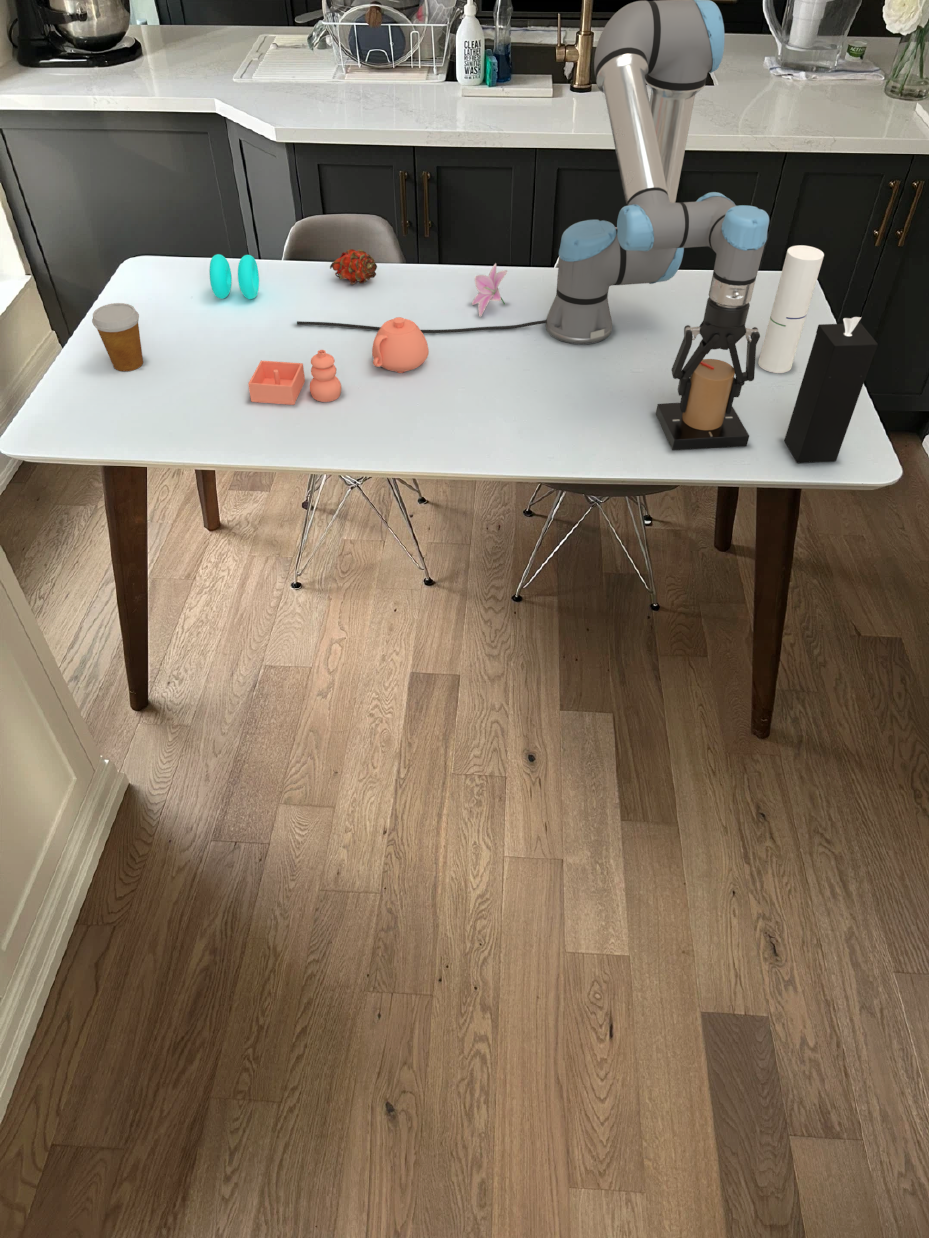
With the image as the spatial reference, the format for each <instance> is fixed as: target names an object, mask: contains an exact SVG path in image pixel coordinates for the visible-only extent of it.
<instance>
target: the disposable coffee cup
mask: <svg viewBox="0 0 929 1238" xmlns="http://www.w3.org/2000/svg"><path fill="white" fill-rule="evenodd" d="M139 319H140V314H139V312H138V311H137V310H136V308H135V307H134V306H133V305H132V304H129V303H125V302H124V303H123V302H113V303H107V304H104V305H102V306H99V307H98V308H96V309H95V310H94V311H93V313H92V319H91V323H92V325H93V326H94V327H95V328H96V330H97V332H98V335H99V337H100V339H101V342H102V344H103V346H104V348H105V351H106V352H107V355H108V357H109V359H110V362H111V364H112V366H113V369H114V370H117V371H119V372H131V371H135V370H138V369H139V368H141V367H142V366H143V364H144V358H143V351H142V350H143V349H142V342H141V334H140V326H139Z"/></svg>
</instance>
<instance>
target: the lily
mask: <svg viewBox="0 0 929 1238" xmlns="http://www.w3.org/2000/svg"><path fill="white" fill-rule="evenodd" d="M507 274H508V270H507V269H504V270H501V271H498V272H497V263H496V262H495V263H494V264H493V266H492V268H491V269H490V271H489V273H488V275H485V274H476V275H475V276H474V284H475V288H476V290H477V291H478V293H477V294H476V295H475V297H474V299H473V300H472V302H471V305H472V306H473V305H476V304H477V305H478V307H477V308H478V317H479V318H481V317H482V316H483V314H484V312H485V310H486V308H487V306H488V304H489V302H490V301H492V302H502V303H503V305H506V303H505V301H504V299H503V298H502V296H501V293H500V289H499V285H500V284H501V283H502V281H503V279H504V278H505V276H506V275H507Z"/></svg>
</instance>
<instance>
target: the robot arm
mask: <svg viewBox="0 0 929 1238" xmlns="http://www.w3.org/2000/svg"><path fill="white" fill-rule="evenodd" d="M725 37H726V36H725V24H724V19H723V15H722V12H721V10H720V8H719V6H718V5H717V4H716V3H715V2H714V1H712V0H636V1H633V2H630V3H628V4H626V5H624V6H623V7H621V8H620V9H618V11H616V12H615V13H614V14H613V15H612V16H611V18H610V19H609V20H608V21H607V23H606V24H605V25H604V28H603V29H602V31H601V33H600V35H599V38H598V40H597V44H596V48H595V53H594V61H593V62H594V63H593V69H594V77H595V82H596V87H597V89H598V90H599V91H600V92H601V93H602V94H604V98H605V103H606V108H607V114H608V119H609V124H610V129H611V134H612V140H613V145H614V150H615V155H616V159H617V165H618V169H619V175H620V180H621V187H622V189H623V196H624V201H625V205H624V206H623V207H622V208H621V209H620V210H619V212H618V216H617V221H616V226H615V225H614V224H613V223H612V222H610V221H607V220H605V219H603V220H599V219H586V220H582V221H578V222H575V223H573V224H572V225H569V226H568V227H567V228H566V229H565V230H564V231H563V233H562V234H561V240H560V246H559V249H558V267H557V280H556V281H557V282H556V293H555V296H554V299H553V301H552V303H551V306H550V309H549V311H548V313H547V316H546V318H545V319H543V320H537V321H529V322H525V323H520V324H512V325H511V324H510V325H499V326H497V325H495V326H478V327H477V326H476V327H465V328H451V329H450V328H448V329H420V330H421V332H422V333H423V334H447V333H448V334H450V333H467V332H476V331H477V332H478V331H494V330H512V329H520V328H524V327H530V326H531V327H532V326H537V325H544V324H545V330H546V332H547V334H549V335H550V337H552V338H554V339H556V340H558V341H560V342H563V343H566V344H567V343H568V344H574V345H590V344H595V343H600V342H602V341H604V340H606V339H607V338H608V337H610V335H611V334H612V327H613V319H612V314H611V310H610V304H609V299H608V297H609V290H610V287H612V286H626V285H629V286H630V285H642V284H648V285H653V284H656V283H662V282H667V281H669V280H671V279H673V277H675V276H676V274H677V272H678V271H679V269H680V267H681V264H682V261H683V257H684V252H685V249H689V248H701V247H704V248H705V247H708V248H710V249H711V250H712V251H713V252H714V253H715V254H716V255H715V262H714V266H713V271H712V276H711V281H710V284H709V285H710V286H709V290H708V298H707V300H706V305H705V310H704V315H703V319H702V321H701V323H700V324H699V325H698V326H693V327H691V325H688V324H686V325H685V326H684V328H683V339H682V341H681V344H680V346H679V349H678V351H677V353H676V357H675V358H674V362H673V364H672V367H671V375H672V378H673V379H674V380H678V385H677V394H678V396H680V401H679V403H680V409H681V413H685V411H686V406H687V401H688V396H689V391H690V387H691V381H690V377H691V375H692V374H693V372H694V371H695V370H696V368H697V367H698V365H699V364H700V362H701V361H702V360H703V359H705V357H706V356H707V355H709V353H710V352H711V351H712V350H714V351H716V350H722V351H728V352H729V355H730V360H731V363H732V367H733V368H734V371H735V375H734V379H733V383H732V387H731V391H730V395H729V399H728V404H727V408H726V414H730V412H731V408H732V407H733V404H734V400H735V398H740V396H741V391H742V387H743V386H744V385H745V382H747V381H748V382H753V381H754V380H755V373H756V355H757V345H758V342H759V340H760V338H761V334H760V331H759V328H758V327H756V326H753V327H752V328H749V327H746V322H747V320H748V319H747V318H748V315H749V310H750V307H751V306H750V302H751V300H752V298H753V294H754V289H755V284H756V280H757V276H758V272H759V268H760V265H761V262H762V261H761V260H762V258H763V254H764V250H765V246H766V242H767V240H768V230H769V225H770V216H769V214H768V213H767V211H766V210H765V209H761V208H758V207H757V206H753V205H745V204H744V205H743V204H742V205H736V204H735V202H734V201H733V200H731V199H730V198H729V197H727V196H725V194H723V193H721V192H718V191H717V192H716V191H711V192H708V193H705V194H704V195H702V196H700V197H698V199H697V200H696V201H684V202H676V201H677V194H678V189H679V184H680V180H681V179H680V178H681V173H682V168H683V163H684V157H685V151H686V146H687V142H688V135H689V130H690V125H691V120H692V114H693V109H694V104H695V98H696V95H697V94H698V93H699V92H700V91H701V90H703V89H704V88H705V86H706V81H707V77H708V73H709V74H713V73H714V72H716V71H717V70H718V69H719V68H720V65H721V63H722V60H723V58H724V53H725V42H726V41H725ZM647 86H648V88H649V89H650V96H649V92H648V88H647ZM296 325H297V326H301V325H302V326H327V327H341V328H351V329H362V330H372V331H379V329H380V328H381V326H373V325H363V324H351V323H341V322H328V321H298V320H297V321H296ZM698 335H700V336H701V340H700V341H699V344H698V346H697V348H696V349H695V351H694V352H693V353H692V355H691V356H690V358H689V359H688V360H687V358H688V356H689V352H690V351H691V348H692V345H693V341H695V340H696V339H697V336H698ZM744 336H745V340H746V357H745V371H743V370H742V366H741V362H740V359H739V354H738V350H737V345H736V344H737V343H738V342H739V341H740V340H741V339H742V338H744ZM686 361H687V362H686Z"/></svg>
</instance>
